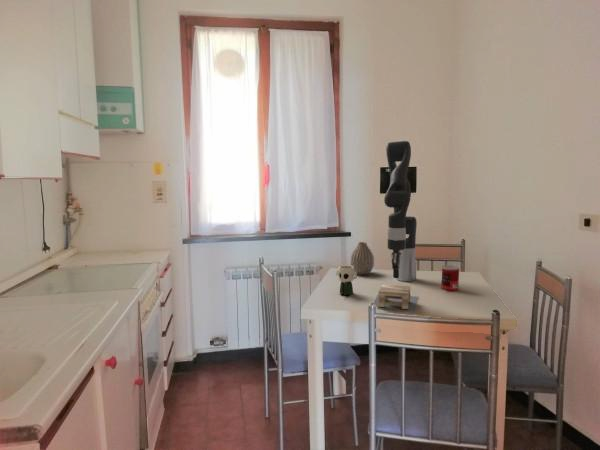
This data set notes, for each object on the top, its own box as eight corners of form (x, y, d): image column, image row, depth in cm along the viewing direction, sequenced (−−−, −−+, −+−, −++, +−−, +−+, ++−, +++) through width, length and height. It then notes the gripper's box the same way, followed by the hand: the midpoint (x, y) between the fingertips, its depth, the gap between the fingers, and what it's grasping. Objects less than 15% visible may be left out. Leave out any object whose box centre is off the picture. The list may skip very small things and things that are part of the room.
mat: (378, 294, 206) (378, 293, 206) (418, 297, 200) (418, 296, 200) (370, 309, 184) (370, 308, 184) (415, 313, 179) (415, 312, 179)
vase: (348, 271, 253) (348, 240, 251) (371, 270, 254) (371, 240, 252) (352, 276, 240) (352, 244, 238) (376, 276, 241) (376, 244, 239)
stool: (410, 301, 193) (407, 310, 181) (382, 299, 196) (378, 307, 185) (410, 286, 192) (408, 293, 180) (382, 284, 195) (378, 291, 184)
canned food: (459, 288, 216) (459, 265, 214) (457, 292, 208) (458, 269, 207) (442, 286, 219) (443, 264, 217) (440, 290, 212) (441, 268, 210)
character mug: (332, 294, 208) (332, 266, 206) (340, 290, 213) (340, 264, 212) (352, 297, 201) (352, 269, 199) (360, 294, 206) (360, 267, 205)
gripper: (389, 235, 196) (388, 273, 198) (385, 240, 184) (385, 280, 186) (406, 235, 194) (406, 274, 196) (404, 240, 181) (403, 282, 183)
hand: (395, 277), depth 191 cm, fingers closed
